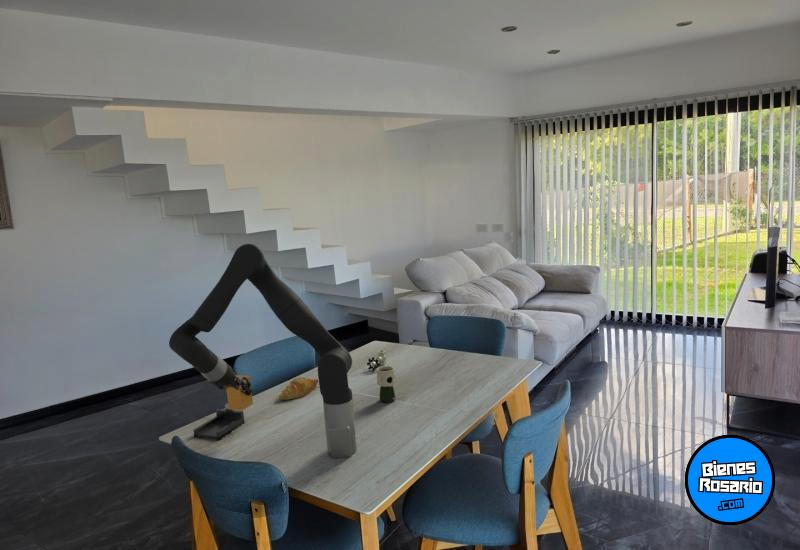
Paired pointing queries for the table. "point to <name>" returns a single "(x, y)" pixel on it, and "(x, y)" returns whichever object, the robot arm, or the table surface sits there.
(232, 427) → the tray
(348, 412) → the robot arm
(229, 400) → the block
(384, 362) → the valve
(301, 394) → the croissant
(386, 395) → the character mug
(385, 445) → the table surface
